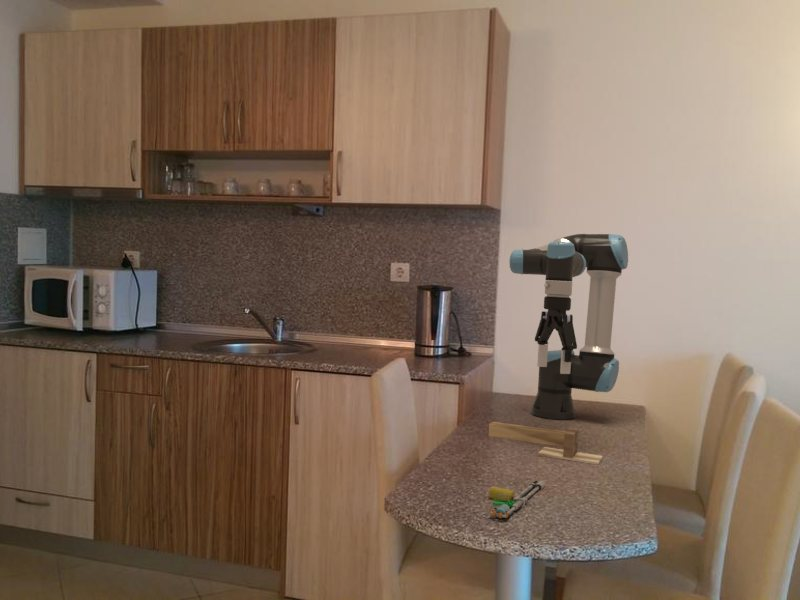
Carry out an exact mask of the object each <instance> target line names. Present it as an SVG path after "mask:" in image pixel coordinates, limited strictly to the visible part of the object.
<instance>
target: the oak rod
mask: <svg viewBox="0 0 800 600" xmlns="http://www.w3.org/2000/svg"><path fill="white" fill-rule="evenodd" d="M488 425H489V427H488V437H492V438H498V439H499V438H500V439H504V440H505V439H506V440H512V441H520V442H528V443H533V444H534V443H535V444H542V445H548V446H549V445H550V446H555V447H556V446H557V447H563V448H564V436H565V432H566V431H567V430H560V429H559V430H558V429H552V428H551V429H550V428H544V427H542V428H541V427H535V426H529V425H528V426H527V425H522V424H521V425H519V424H513V423H507V422H506V423H505V422H504V423H503V422H498V421H492V422H490V423H489V424H488Z"/></svg>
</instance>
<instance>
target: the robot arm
mask: <svg viewBox="0 0 800 600" xmlns="http://www.w3.org/2000/svg"><path fill="white" fill-rule="evenodd" d="M628 263H629V252H628V246H627V241H626V239H625V238H624V237H623V235H620V234H612V233H609V234H608V233H607V234H606V233H605V234H604V233H599V234H598V233H597V234H596V233H595V234H594V233H592V234H591V233H576V234H571V235H567V236H564V237H559V238H557V239H554V240H553V241H551V242H549V243H547V244H545V245H542V246H538V247H535V248H530V249H523V248H521V249H514V250H512V251H511V253H510V256H509V268H510V271H511V272H512V274H519V275H535V276H536V275H539V276H540V275H541V276H545V283H544V294H545V295H546V296H544V299H543V308H544V309H545V310H547V311H541V316H540V320H539V324H538V326H537V330H536V333H535V337H534V342H536V344H538V349H537V367H538V381H537V383H538V384H537V393H536V396H535V398H534V400H533V403H532V406H531V415H533V416H535V417H537V418H538V417H539V418H544V419H550V420H573V419H576V409H575V405H574V402H573V397H572V390H573V389H575V390H582V391H590V392H595V393H609V392H611V391H612V390H613V389H614V387H615V386H616V385H615V384H616V382H617V379H618V375H619V371H620V370H619V369H620V367H619V366H620V361H619V360H618V359H617V358H615V352H614V351H613V350H612V349H611V345H612V333H613V321H614V311H615V309H614V308H615V299H616V288H617V287H616V286H617V280H618V278H620V277H621V276H622V271H623V270H625V269H627V268H628V265H629V264H628ZM585 270H586V273H587V275H588V276H589V278H590V280H589V292H588V293H589V294H588V301H587V302H588V304H587V315H586V325H585V326H586V327H585V338H584V345H583V347H582V348H580V349H579V353H578V354H575V351H574V350H577V349H578V345H577V338H576V334H575V328H574V323H573V322H574V321H573V314H567V312H569V311H570V310H571V306H572V298H571V297H570V296H572V292H573V278H574V277H575V278H576V277H578V276H580V275H582V274H583V273H584V272H585ZM554 330H556V331H557V333H558V336H559V339H560V342H561V346H562V347H561V349H559V350H549V339H550V337H551V336H552V334H553V331H554Z"/></svg>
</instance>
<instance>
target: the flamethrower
mask: <svg viewBox="0 0 800 600" xmlns="http://www.w3.org/2000/svg"><path fill="white" fill-rule="evenodd" d="M545 487H546V482H545V481H544V480H539V481H538V480H534V482H532V483H530V484H528V486H527V487H526V488H525V489H523V490H522V491H521V492H520V493H519V494H517V495H516V496H515V492H514V490H511V489H507V488H503V487H499V486H493V485H491V486H490V488H489V491H488V492H489V493H488V498H489V499H491V500H492V501H493V502H492V505H493V506H498V507H494V508H491V509H490V510H488V512H489V514H490V515H492V517H494V518H495V517H496V518H498V519H503V518H504V519H508V517H509V516H510V515H511V514H514V515H517V513H516V511H517V510H518V509H519V508H523V507H524V506H525V505H526V504H527V503H529V504H530V505H531V506H530V508H529V509H528V511H529V510H531V509H532V508H533V507H534V505H535V501H534V500H530V499H529V498H530V497H532V496H533V495H534V494H535V493H536V492H537V491H540V490H543V489H544V488H545ZM528 492H529V493H528ZM527 493H528V494H527ZM526 494H527V495H526ZM528 499H529V500H528ZM514 511H515V512H514Z"/></svg>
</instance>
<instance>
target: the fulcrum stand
mask: <svg viewBox="0 0 800 600" xmlns="http://www.w3.org/2000/svg"><path fill="white" fill-rule="evenodd" d="M565 431H566V432H565V436H564V447H563V449H562V448H561V449H559V448H555V447H549V446H543V448H541V450H539V451H538V452H537V456H539V457H540V456H541V457H548V458H552V459H553V458H554V459H558V460H559V459H560V460H566V461H573V462H580V463H586V464H592V465H598V466H599V464H600V463H601V461H602V459H603V458H604V455H602V454H601V455H600V454H593V453H586V452H581V451H580V452H579V451H578V448H579V447H578V446H579V433H580V428H575V427H569V428H568V429H567V430H565Z"/></svg>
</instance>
